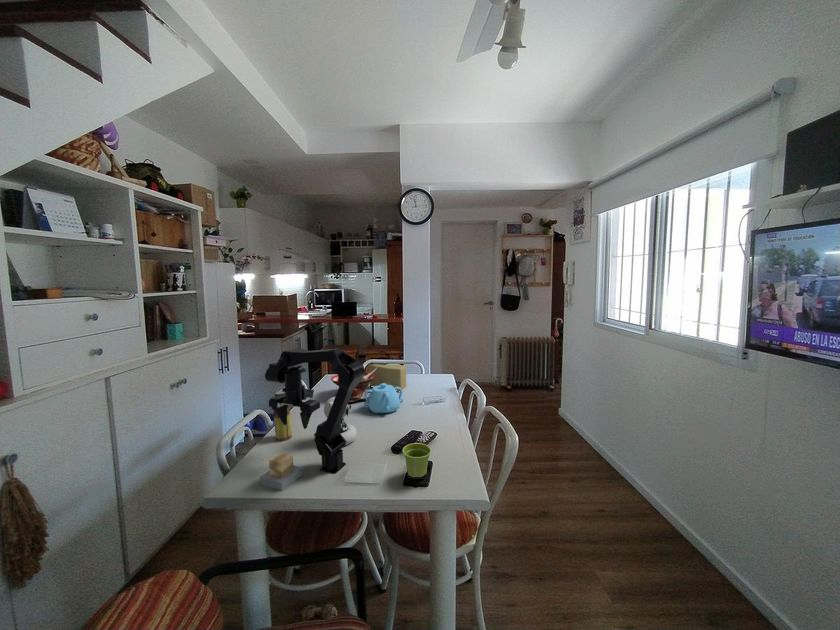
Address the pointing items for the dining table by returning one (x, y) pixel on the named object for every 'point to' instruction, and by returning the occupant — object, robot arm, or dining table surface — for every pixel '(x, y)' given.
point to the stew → (358, 386)
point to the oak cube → (281, 465)
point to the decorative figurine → (342, 422)
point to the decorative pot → (383, 398)
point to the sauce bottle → (282, 430)
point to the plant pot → (416, 459)
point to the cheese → (389, 375)
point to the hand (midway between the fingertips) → (295, 426)
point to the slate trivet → (281, 479)
